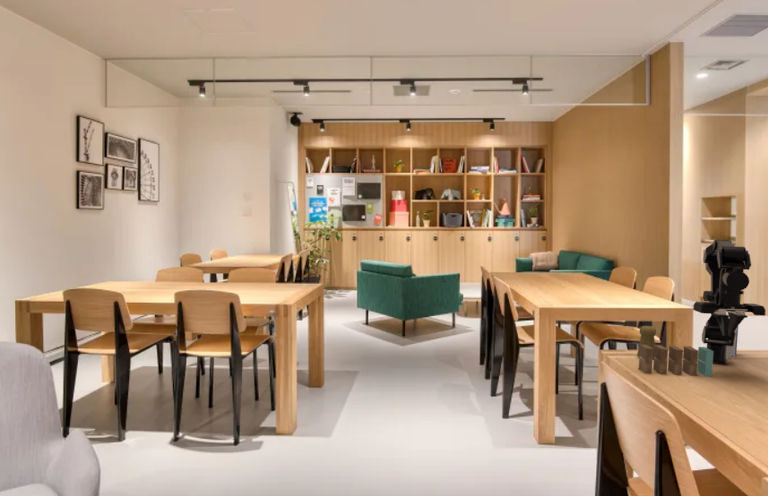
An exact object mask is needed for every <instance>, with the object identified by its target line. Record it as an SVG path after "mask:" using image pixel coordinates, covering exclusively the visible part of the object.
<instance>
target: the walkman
mask: <svg viewBox="0 0 768 496" xmlns="http://www.w3.org/2000/svg"><path fill="white" fill-rule="evenodd" d="M734 332H735V333H736V335H735V339H734V345H733V346H727V347H726V359H735V358H736V355H737V351H738V349H737V348H738V347H737V346H738V335H739V326H738V327H737V328H736V330H735V331H734Z"/></svg>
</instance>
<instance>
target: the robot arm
mask: <svg viewBox="0 0 768 496" xmlns="http://www.w3.org/2000/svg"><path fill="white" fill-rule="evenodd" d="M703 264H705V270H706V271H707V272H708V274H709V276H710V290H704V291H703V294H702V300H703V301H695V302H694V303H693V309H692V310H693V311H696V312H698V313H700V314H707V315H708V314H710V317H709V318H708V320H706V322H705V325H704V326H703V330H702V334H701V341H702V343H703V344H706V348H708V349H710V350H712V351H713V364H718V365H727V363H728V358H726V347H727V346H733V345H734V339H735V335H736V333H735V332H734V331H735V330H736V328H737V327H738V328H739V325H740V324H741V323H742V322H743V321H744V319H745V318H748V317H749V316H748V315H746V313H752V314H753V315H754V316H766V311H767V310H766V307H764V306H763V305H761V304H757V303H749V302H748V303H747V302H746V303H744V302H743V303H741V298H742V297H741V296H742V295H744V294H745V292H744V290H745V289H747V288H748V286H749V284H750V278H749V277H748V275H747V274H746V273H745V272H744V270H748V271H749V270H750V268H751V266H752V261H751V254H750V253H749V251H748V250H746V247H745V246H736V245H735V244H733V243H732V240H730V239H722V238H721V239H720V238H718V239H713V242H712V243H711V244H710V245H708V246H707V247H706V248H705V249H704V253H703Z"/></svg>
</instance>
